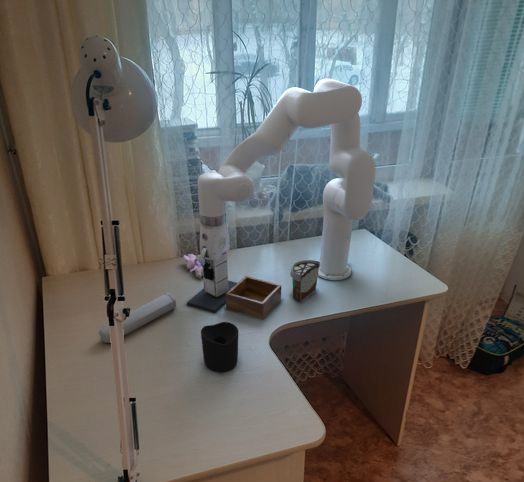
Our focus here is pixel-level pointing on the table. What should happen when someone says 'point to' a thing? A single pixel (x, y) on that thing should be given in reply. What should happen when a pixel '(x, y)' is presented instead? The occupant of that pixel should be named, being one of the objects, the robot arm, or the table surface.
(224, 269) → the syrup box
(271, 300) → the open box
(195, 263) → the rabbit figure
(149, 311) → the tube
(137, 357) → the table surface
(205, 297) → the mat
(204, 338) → the pen holder
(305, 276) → the food container
